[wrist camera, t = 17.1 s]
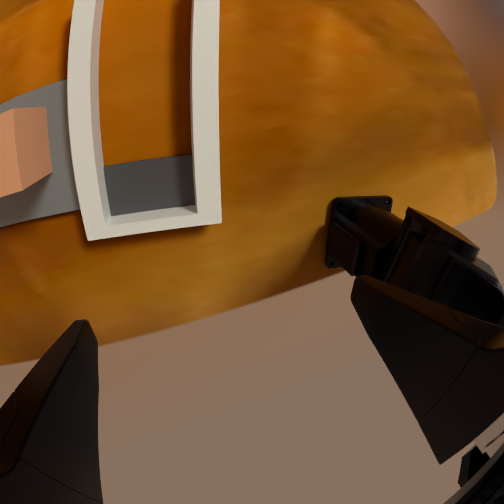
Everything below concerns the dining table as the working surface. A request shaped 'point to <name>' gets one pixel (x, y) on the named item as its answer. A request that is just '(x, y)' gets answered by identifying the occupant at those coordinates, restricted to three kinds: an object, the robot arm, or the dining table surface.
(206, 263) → the dining table surface
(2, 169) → the block
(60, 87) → the coaster
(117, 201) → the channel
